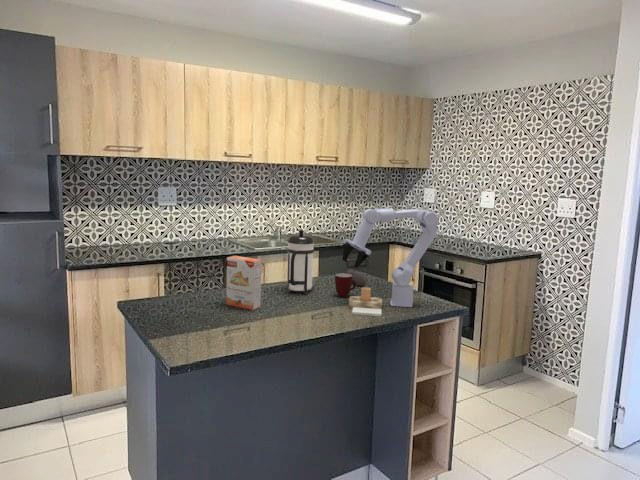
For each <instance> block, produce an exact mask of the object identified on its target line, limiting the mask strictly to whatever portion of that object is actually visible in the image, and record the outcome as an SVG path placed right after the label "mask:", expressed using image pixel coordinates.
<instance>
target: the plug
mask: <svg viewBox="0 0 640 480" xmlns="http://www.w3.org/2000/svg"><path fill="white" fill-rule="evenodd" d="M371 293H372V287H366V286H365V287H364V286H361V293H360V297H361V301H370V297H371V295H372V294H371Z"/></svg>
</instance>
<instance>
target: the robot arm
mask: <svg viewBox="0 0 640 480" xmlns="http://www.w3.org/2000/svg"><path fill="white" fill-rule="evenodd" d="M405 218H406V219H410V218H411V219H415V220H417V221H418V223H419V224H420V227H421V229H422V232H423V233H422V234H421V235H420V237H419V238H418V240H417V241H416V243H415V245H414V246H413V247H412V248H411V250H410V252H409V253H408V255H407V257H406V258H405V259H404V261H403V262H402V263H400V264H399V266H397V267H396V268H394V269H393V270H392V272H391V278H392V280H393V281H392V288H391V299H390V300H389V301H390V306H392V307H406V308H413V303H414V285H410V283H411V282H412V276H413V275H414V270H415V267H416V266H417V265H418V263H419V261H420V260H421V259H422V257H423V255H424V254H425V253H426V251H427V250H428V249H429V247H430V245H431V244H432V243H433V241H434V239H435V238H436V237H437V232H438V224H439V223H440V221H439V217H438V214H437V213H436V212H434V211H432V210H428V209H418V208H413V209H402V210H394V209H393V208H392V207H390V206H386V207H385V208H378V207H375V208H374V209H373V208H367V209H366V210H365V211H364V212H362V219H361V221H360V224H359V225H358V228H357V230H356V233H355V235H354V237H353V238H352V239H353V240H351V239H349V238H345V239H344V241H343V244H342V247H343V251H342V258H341V260H342V261H344V262H346V261H347V260H348V259H349V256H350V254H351V252H352V251H353V250H354V249H357V250H358V251H357V257H356V260H355V262H354V265H353V266H354V268H357V269H358V268H359V267H360V266H361V265H362V263H363V262H364V261H365V260H367V259H368V258H369V257H370V256H371V254H372V250H371V249H368V248H367V247H366V246H367V245H366V244H367V243H368V241H369V239H370V238H369V237H370V235H371V233H372V231H373V229H374V225H375V224H376V223H386V222H393V221H394V220H395V219H405Z"/></svg>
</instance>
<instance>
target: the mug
mask: <svg viewBox="0 0 640 480" xmlns="http://www.w3.org/2000/svg"><path fill="white" fill-rule="evenodd" d="M334 277H335V278H334V283H335V290H336V293H337V295H338V297H340V298H347V297H348V296H349V294H350V292H351V291H353V290H354V289H356V288H357V285H356V282H355V281H354V280H352V275H351V274H346V272H345V273H344V272H343V273H342V272H341V273H336V274H335V275H334ZM352 282H353V283H354V284H353V283H352Z"/></svg>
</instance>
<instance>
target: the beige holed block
mask: <svg viewBox="0 0 640 480" xmlns="http://www.w3.org/2000/svg"><path fill="white" fill-rule="evenodd" d="M353 307H358V308H372V309H382V307H383V298H382V297H371V296H370V301H361V295H360V296H358V295H350V296H349V299H348V308H349V309H353Z"/></svg>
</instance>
